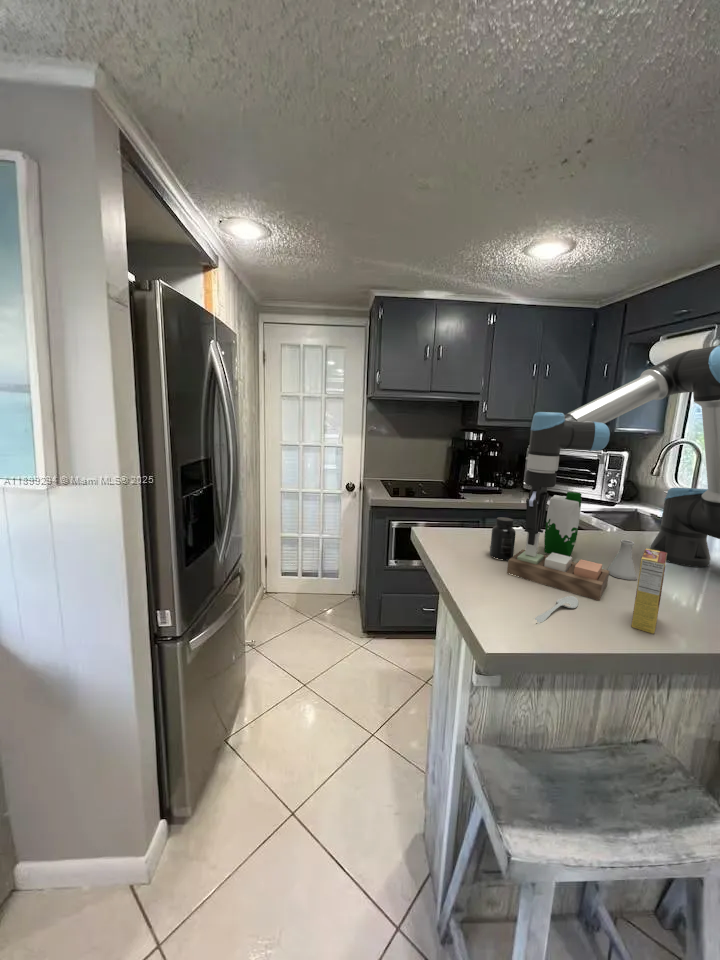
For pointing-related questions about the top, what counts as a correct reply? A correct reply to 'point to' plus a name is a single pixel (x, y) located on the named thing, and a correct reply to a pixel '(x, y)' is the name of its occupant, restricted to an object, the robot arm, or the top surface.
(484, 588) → the top surface
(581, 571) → the terracotta key
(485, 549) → the top surface
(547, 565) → the white rectangular block
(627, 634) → the top surface
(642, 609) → the candy box
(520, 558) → the sage key
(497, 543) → the supplement bottle
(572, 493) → the milk carton
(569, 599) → the spoon
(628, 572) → the flask
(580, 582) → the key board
